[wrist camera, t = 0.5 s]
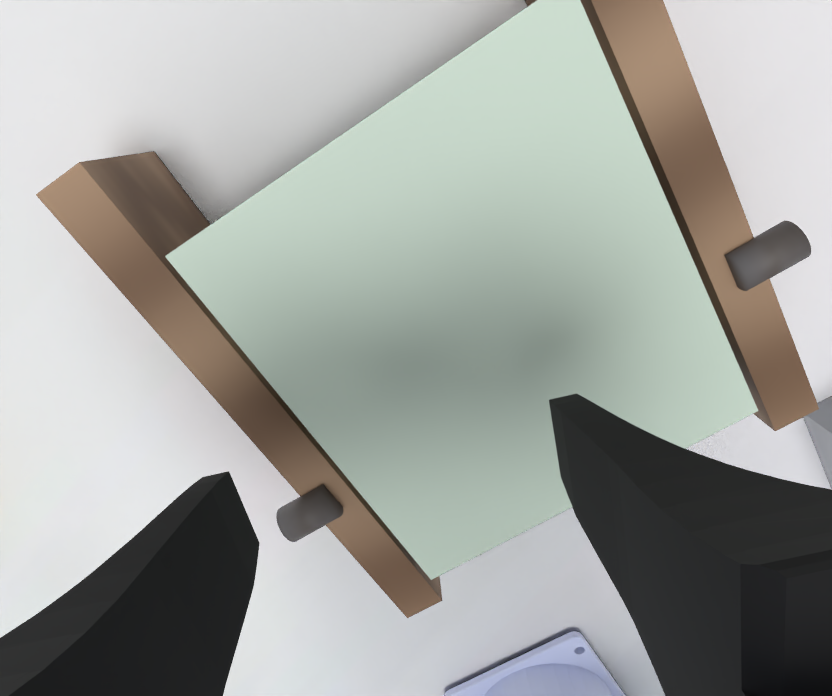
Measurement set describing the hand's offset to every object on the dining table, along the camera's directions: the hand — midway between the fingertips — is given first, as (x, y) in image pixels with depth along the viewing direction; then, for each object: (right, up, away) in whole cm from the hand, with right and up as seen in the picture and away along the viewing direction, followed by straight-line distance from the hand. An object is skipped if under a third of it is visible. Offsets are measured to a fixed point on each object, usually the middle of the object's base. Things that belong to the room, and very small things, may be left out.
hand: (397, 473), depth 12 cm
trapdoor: (+2, +4, +8) cm, 9 cm away
